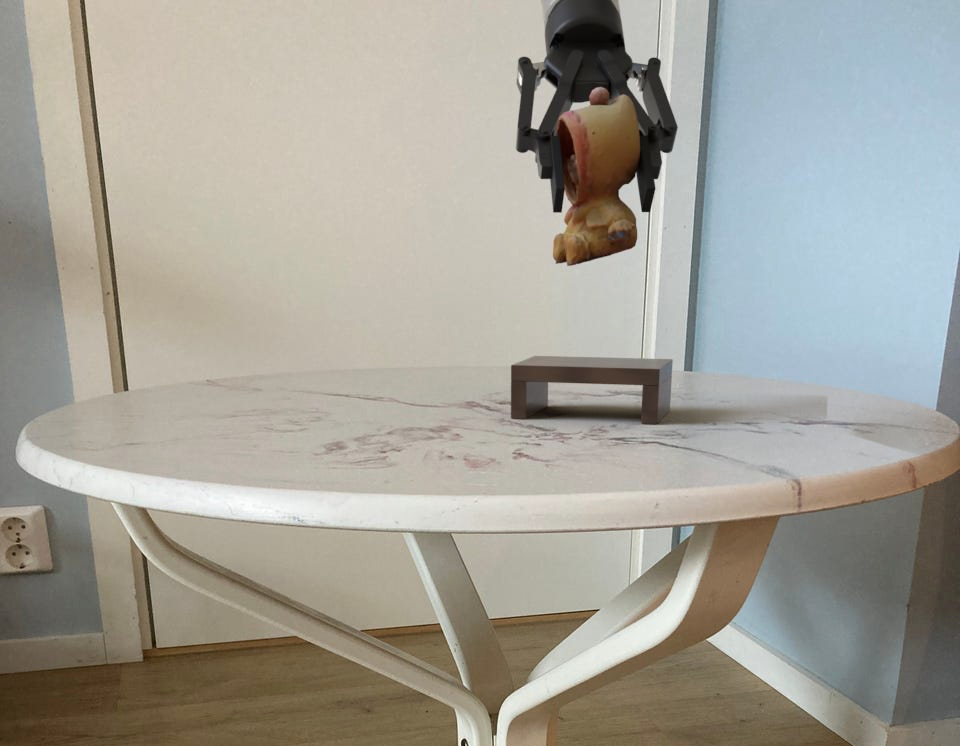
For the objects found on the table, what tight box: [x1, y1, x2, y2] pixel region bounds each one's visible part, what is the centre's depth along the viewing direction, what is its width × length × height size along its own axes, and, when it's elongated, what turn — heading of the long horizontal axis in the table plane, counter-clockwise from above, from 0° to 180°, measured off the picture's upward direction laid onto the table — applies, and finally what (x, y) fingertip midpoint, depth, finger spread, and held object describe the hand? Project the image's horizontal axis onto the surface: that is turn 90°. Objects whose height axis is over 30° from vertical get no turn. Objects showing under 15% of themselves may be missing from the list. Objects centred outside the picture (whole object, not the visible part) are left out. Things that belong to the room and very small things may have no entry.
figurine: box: [552, 87, 640, 267], centre depth 101 cm, size 10×8×15 cm
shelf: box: [510, 355, 674, 425], centre depth 107 cm, size 14×9×5 cm, turn 73°
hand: (603, 200), depth 98 cm, fingers closed on figurine, 7 cm apart
